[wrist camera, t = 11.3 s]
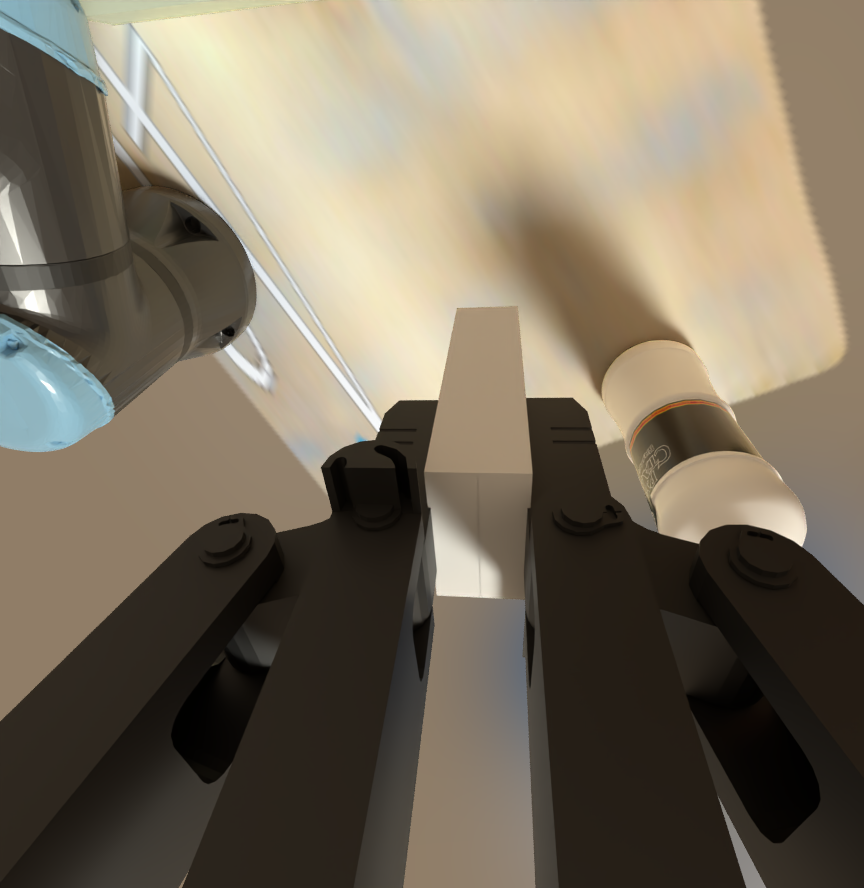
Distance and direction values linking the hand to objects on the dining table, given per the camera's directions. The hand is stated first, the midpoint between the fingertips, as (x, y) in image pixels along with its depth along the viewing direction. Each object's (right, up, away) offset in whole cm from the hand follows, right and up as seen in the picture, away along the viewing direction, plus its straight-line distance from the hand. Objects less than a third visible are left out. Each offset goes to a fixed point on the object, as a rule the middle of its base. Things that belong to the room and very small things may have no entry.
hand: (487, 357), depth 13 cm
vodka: (+20, +4, +35) cm, 40 cm away
